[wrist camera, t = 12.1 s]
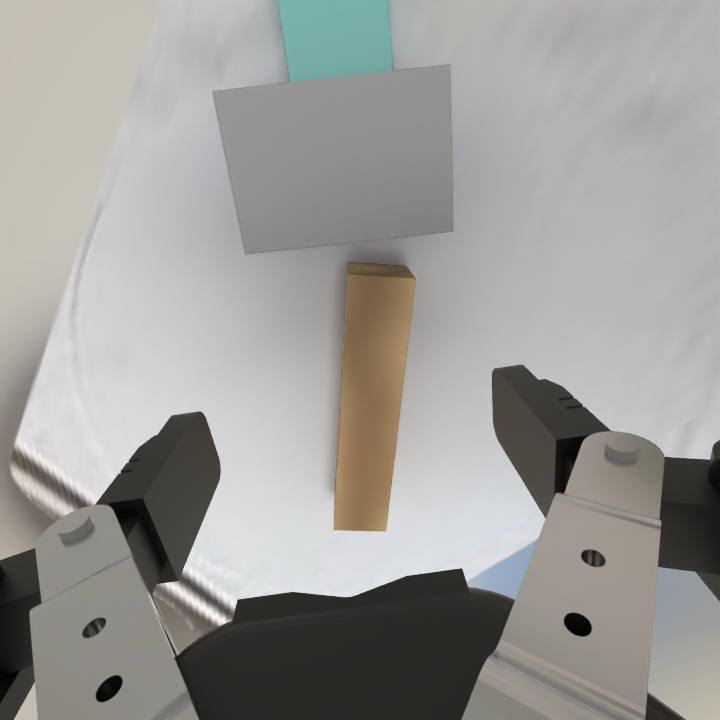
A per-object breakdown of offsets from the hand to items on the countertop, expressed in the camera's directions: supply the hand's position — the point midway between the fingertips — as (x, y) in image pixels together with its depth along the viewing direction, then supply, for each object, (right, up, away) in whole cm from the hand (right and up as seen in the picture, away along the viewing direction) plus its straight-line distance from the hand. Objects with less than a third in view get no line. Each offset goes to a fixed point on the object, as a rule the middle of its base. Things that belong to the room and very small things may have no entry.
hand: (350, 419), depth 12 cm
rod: (+1, 0, +17) cm, 17 cm away
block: (-1, +18, +10) cm, 20 cm away
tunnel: (-1, +12, +12) cm, 17 cm away
